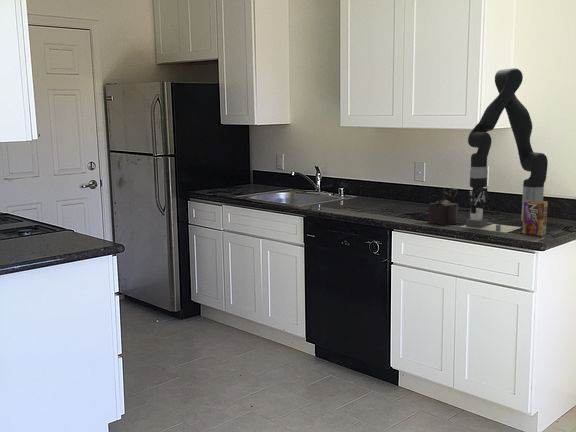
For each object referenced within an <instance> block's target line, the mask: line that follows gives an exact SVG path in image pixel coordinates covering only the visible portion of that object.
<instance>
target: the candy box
mask: <svg viewBox="0 0 576 432" xmlns="http://www.w3.org/2000/svg"><path fill="white" fill-rule="evenodd" d="M548 203H549V202H548V201H545V200H543V201H536V200H525V201H524V211H523V222H522V234H525V235H526V234H527V235H532V236H539V237H540V236H541V237H540V238H541V239H542V238H545V237H546V236H547V219H548V206H549V205H548Z"/></svg>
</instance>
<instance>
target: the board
mask: <svg viewBox="0 0 576 432" xmlns="http://www.w3.org/2000/svg"><path fill="white" fill-rule="evenodd" d="M460 228H469V229H474V230H475V229H476V230H481V231H482V230H483V231H491V232H497V233H498V232H499V233H505V234H506V233H507V234H508V233H509V232H513V231H515V230H519V229H521V228H522V229H523V226H514V225H505V224H498V223H493V222H489V221H488V219H485V218H482V220H481V221H475V220H470V218H468V219H465V224H464V225H461V226H460Z"/></svg>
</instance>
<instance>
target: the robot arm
mask: <svg viewBox="0 0 576 432" xmlns="http://www.w3.org/2000/svg"><path fill="white" fill-rule="evenodd" d="M523 78H524V77H523V73H522V71H521V70H520V69H519V68H516V67H514V68H513V67H512V68H505V69H503V68H502V69H499V70H498V71H497V72H496V73H495V75H494V84H495V87H496V89H497V92H498V95H497V96H496V97H495V98H494V99H493V100H492V101H491V102H490V103H489V105H488V106H487V107H486V108H485V110H484V112H483V114H482V116H481V118H480V119H479V121H478V123H477V124H476V125H475V126H474V127H473V129H472V130H471V131H470V132H469V134H468V137H467V143H468V146H470V148H471V147H472V148H477V150H476V152H475V153H472V154H471V155H470V169H469V170H470V171H469V187H470V188H472V190H469V191H468V197H467V198H468V199H467V204H468V205H469V206H470V208H471V213H474V214H475V213H476V208H477V204H478V202H479V205H478V206H479V207H478V208H481V209H483V212H484V211H485V208H486V207H485V203H486V201H488V157H489V153H490V149H491V147H492V136H491V134H489V132H490V131H492V130H494V129H495V128H496V125H497V123H498V122H499V119H500V117H501V115H502V113H503V112H504V109H505V112H506V114H507V118H508V121H509V124H510V125H509V126H510V128H511V131H512V134H513V137H514V141H515V143H516V149H517V153H518V159H519V163H520V165H521V168H522V170H524V171H526V172H528V173H529V172H530V176H529V177H528V178H527V179H524V180H523V182H522V199H521V200H522V201H521V205H522V206H521V219H520V220H521V222H522V223H523V211H524V201H525V200H536V201H544V195H545V194H544V193H545V192H544V191H545V190H544V188H545V187H544V186H545V183H546V181H547V174H548V164H549V163H548V157H547V156H546V154H545V153H543V152H534V151H533V148H532V145H531V144H532V143H531V136H532V133H533V122H532V119H531V116H530V113H529V110H528V109H527V107H526V106H525V105H524V104H523V102H521V101H520V100H519V99H518V97H517V96H516V92H517V91H518V89H519V88H520V86H521V85H522V82H523Z"/></svg>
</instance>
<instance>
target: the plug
mask: <svg viewBox="0 0 576 432" xmlns="http://www.w3.org/2000/svg"><path fill="white" fill-rule="evenodd" d="M483 213H484V211H483V209H481V208H479V207H476V213H475V214H474V213H471V207H470V208H469V217H470V218H469V219H470V220H475V221H481V220H482V219H484V218H483V216H484V215H483Z"/></svg>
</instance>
